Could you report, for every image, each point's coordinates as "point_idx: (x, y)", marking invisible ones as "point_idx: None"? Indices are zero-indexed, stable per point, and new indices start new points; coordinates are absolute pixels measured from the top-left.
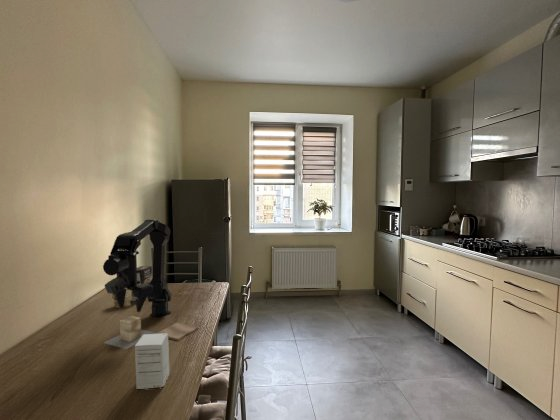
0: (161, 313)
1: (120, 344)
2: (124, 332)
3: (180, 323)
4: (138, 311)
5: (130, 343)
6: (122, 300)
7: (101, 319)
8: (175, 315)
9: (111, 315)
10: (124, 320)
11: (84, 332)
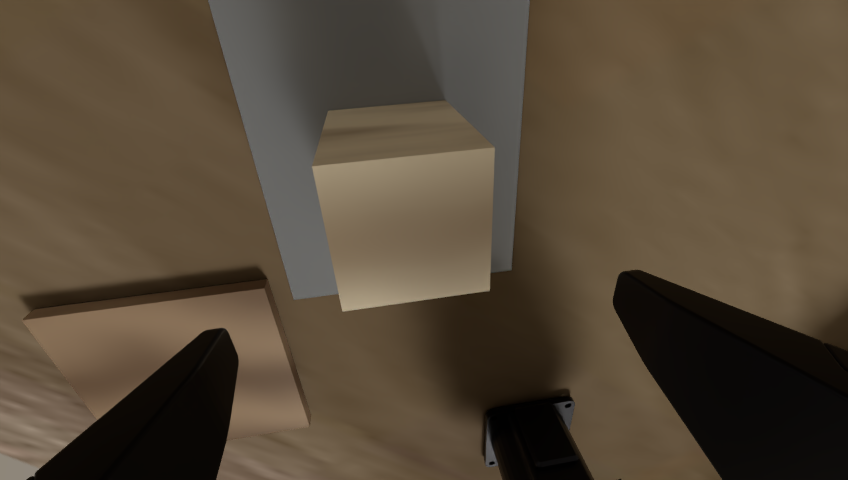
0: (501, 436)
1: (349, 31)
2: (398, 120)
3: (279, 430)
4: (200, 342)
5: (292, 92)
6: (703, 396)
7: (835, 227)
8: (434, 457)
9: (804, 289)
10: (440, 179)
11: (836, 24)
